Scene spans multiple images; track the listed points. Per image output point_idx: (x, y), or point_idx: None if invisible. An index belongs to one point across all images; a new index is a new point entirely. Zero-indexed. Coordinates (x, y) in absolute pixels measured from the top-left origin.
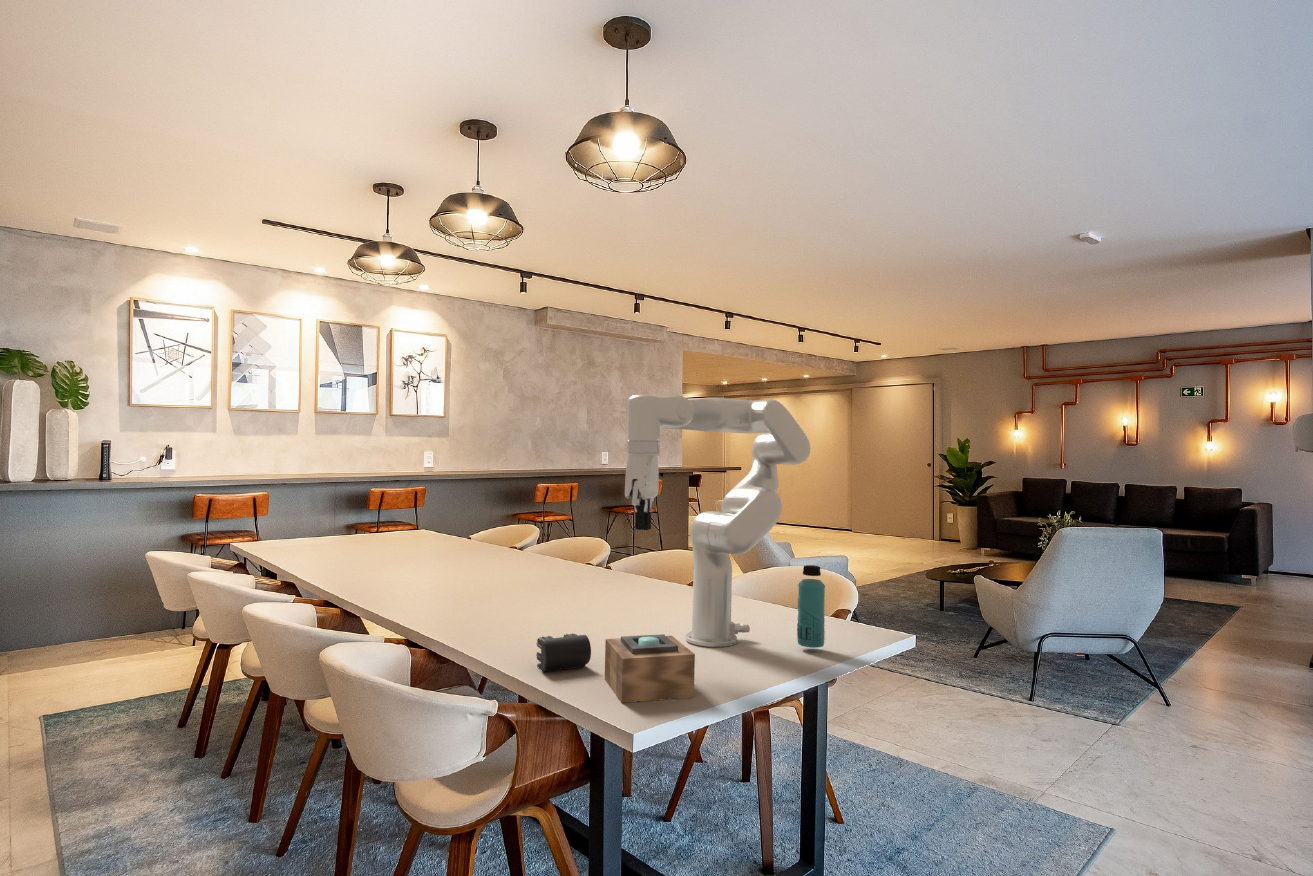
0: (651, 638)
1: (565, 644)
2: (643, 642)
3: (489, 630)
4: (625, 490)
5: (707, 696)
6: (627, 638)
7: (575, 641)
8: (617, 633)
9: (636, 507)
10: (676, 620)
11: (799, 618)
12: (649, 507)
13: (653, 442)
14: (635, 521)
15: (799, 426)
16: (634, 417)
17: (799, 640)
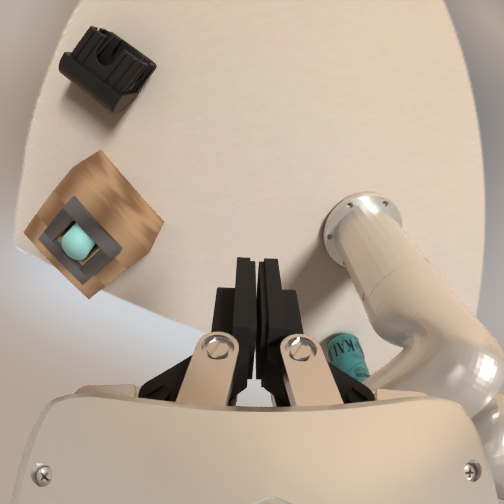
0: (79, 248)
1: (81, 85)
2: (62, 243)
3: None
4: (24, 449)
5: (117, 278)
6: (68, 212)
7: (94, 93)
8: (366, 66)
9: (166, 375)
10: (468, 154)
11: (343, 361)
12: (273, 406)
13: None
14: (236, 281)
15: None
16: None
17: (337, 340)
